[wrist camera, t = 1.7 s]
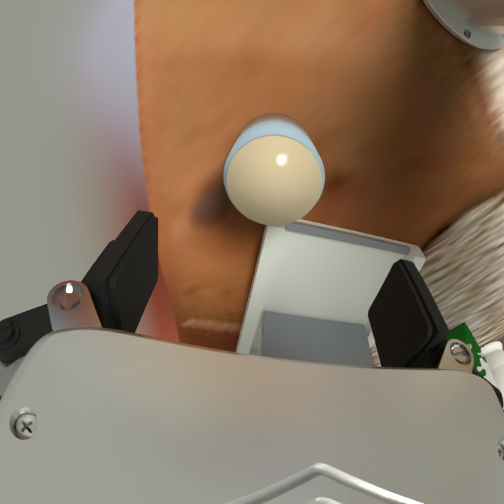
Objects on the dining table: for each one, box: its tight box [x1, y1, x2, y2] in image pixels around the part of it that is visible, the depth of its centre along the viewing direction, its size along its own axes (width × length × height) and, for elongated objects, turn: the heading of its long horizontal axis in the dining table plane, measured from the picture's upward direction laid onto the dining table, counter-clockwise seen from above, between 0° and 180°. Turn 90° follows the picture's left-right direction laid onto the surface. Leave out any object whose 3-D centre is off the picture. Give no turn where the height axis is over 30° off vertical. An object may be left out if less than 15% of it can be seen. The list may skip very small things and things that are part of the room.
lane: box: [236, 219, 426, 356], centre depth 33 cm, size 21×16×3 cm
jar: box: [480, 341, 504, 402], centre depth 34 cm, size 11×10×15 cm
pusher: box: [261, 311, 374, 366], centre depth 34 cm, size 9×12×6 cm
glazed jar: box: [223, 113, 325, 225], centre depth 21 cm, size 6×6×8 cm
